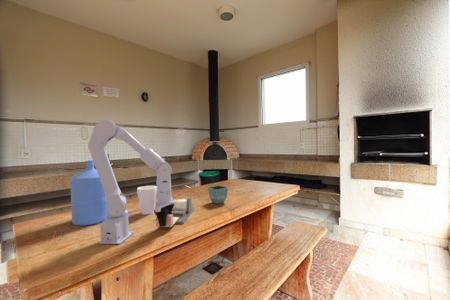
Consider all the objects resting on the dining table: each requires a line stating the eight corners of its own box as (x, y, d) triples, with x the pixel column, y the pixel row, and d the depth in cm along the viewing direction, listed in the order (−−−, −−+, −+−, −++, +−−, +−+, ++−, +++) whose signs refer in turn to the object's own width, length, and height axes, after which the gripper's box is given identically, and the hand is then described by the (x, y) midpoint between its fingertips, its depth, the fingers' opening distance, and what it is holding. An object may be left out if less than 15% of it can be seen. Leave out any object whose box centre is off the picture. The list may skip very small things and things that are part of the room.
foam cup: (150, 216, 101) (150, 189, 100) (134, 215, 103) (133, 189, 102) (160, 210, 110) (160, 185, 110) (145, 209, 112) (144, 185, 111)
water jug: (117, 217, 100) (115, 159, 99) (80, 229, 87) (77, 162, 86) (101, 212, 108) (99, 159, 107) (65, 222, 95) (63, 161, 94)
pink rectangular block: (171, 227, 84) (170, 216, 84) (156, 226, 84) (156, 216, 84) (179, 218, 94) (178, 208, 93) (166, 218, 94) (165, 208, 94)
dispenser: (183, 223, 90) (182, 205, 90) (156, 223, 91) (156, 205, 91) (194, 209, 110) (194, 194, 110) (172, 209, 111) (172, 194, 111)
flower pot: (219, 199, 128) (219, 185, 128) (228, 202, 121) (228, 187, 121) (207, 202, 123) (207, 187, 122) (216, 205, 116) (215, 189, 115)
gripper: (166, 195, 77) (167, 231, 77) (179, 187, 91) (180, 217, 92) (148, 195, 78) (149, 231, 78) (163, 187, 92) (164, 217, 93)
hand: (165, 223), depth 85 cm, fingers open, 4 cm apart
